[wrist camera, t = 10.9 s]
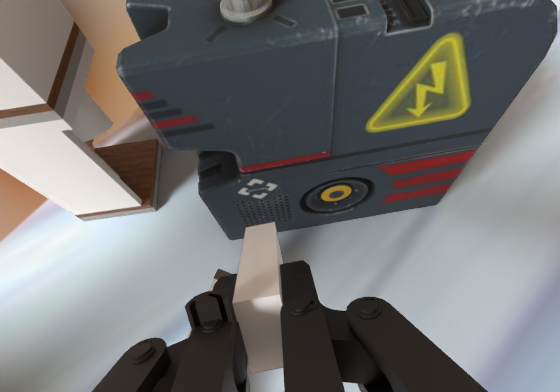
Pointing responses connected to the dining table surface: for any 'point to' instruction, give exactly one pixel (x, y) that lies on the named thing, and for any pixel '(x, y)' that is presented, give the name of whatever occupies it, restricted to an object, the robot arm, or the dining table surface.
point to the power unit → (329, 97)
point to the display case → (64, 119)
